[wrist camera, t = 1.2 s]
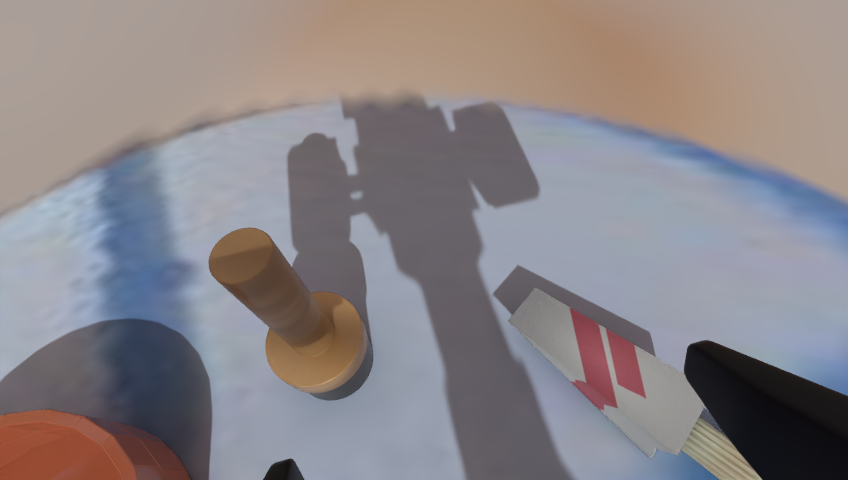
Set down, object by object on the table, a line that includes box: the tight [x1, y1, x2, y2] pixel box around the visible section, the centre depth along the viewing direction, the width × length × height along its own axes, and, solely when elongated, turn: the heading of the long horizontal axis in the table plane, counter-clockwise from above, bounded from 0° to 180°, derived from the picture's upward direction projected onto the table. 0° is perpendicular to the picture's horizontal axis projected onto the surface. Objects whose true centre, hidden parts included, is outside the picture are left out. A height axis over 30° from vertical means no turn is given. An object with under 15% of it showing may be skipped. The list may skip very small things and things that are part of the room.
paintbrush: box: [508, 287, 762, 480], centre depth 21 cm, size 4×3×20 cm
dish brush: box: [209, 228, 373, 400], centre depth 19 cm, size 5×5×13 cm
